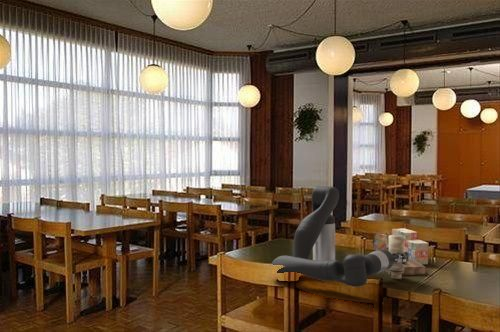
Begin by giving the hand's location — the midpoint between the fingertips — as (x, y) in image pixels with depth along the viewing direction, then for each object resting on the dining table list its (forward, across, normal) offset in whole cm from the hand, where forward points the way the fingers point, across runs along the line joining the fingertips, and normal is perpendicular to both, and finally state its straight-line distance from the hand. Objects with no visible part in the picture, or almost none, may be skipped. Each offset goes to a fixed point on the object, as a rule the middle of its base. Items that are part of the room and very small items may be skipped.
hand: (399, 253), depth 182 cm
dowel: (-3, 0, -9) cm, 9 cm away
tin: (+37, -26, -9) cm, 46 cm away
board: (+9, -3, -9) cm, 13 cm away
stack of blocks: (+31, -10, -9) cm, 33 cm away
